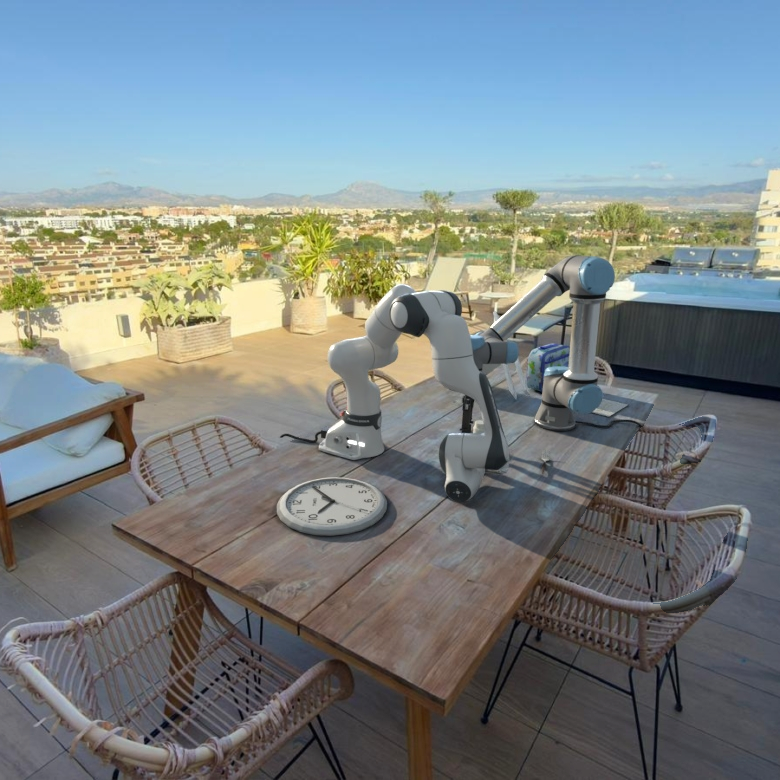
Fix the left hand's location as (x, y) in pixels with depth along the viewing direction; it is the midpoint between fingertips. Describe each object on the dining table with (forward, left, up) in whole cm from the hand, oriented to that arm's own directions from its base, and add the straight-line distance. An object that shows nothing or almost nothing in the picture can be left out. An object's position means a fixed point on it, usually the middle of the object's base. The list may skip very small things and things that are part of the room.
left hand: (479, 450), depth 165 cm
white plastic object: (-15, +80, -6) cm, 81 cm away
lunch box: (+14, +100, -6) cm, 101 cm away
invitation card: (+38, +80, -6) cm, 89 cm away
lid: (-8, +16, -2) cm, 18 cm away
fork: (+20, +10, -6) cm, 23 cm away
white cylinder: (0, -1, -6) cm, 6 cm away
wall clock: (-32, -39, -6) cm, 51 cm away
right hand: (-8, +16, -6) cm, 19 cm away
